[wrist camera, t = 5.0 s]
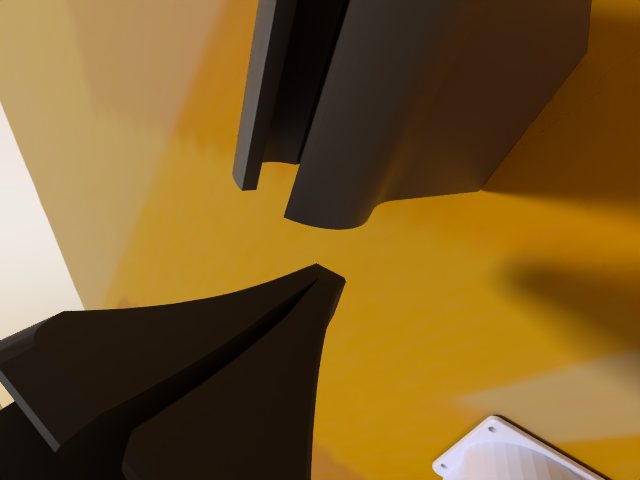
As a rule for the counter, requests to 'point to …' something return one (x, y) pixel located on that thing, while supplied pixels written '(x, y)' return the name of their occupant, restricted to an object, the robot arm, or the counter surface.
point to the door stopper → (397, 95)
